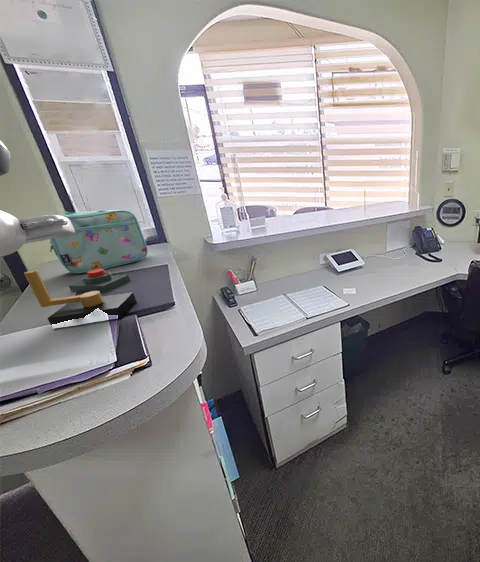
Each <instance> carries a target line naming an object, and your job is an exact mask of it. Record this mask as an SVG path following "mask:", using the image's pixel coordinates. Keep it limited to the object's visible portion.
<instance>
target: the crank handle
mask: <svg viewBox="0 0 480 562" xmlns="http://www.w3.org/2000/svg"><path fill="white" fill-rule="evenodd" d="M23 274H24V276H25V278H26V280H27V282H28V284H29V287H30V288H31V290H32V292H33V294H34V296H35V298H36V300H37V302H38V304H39V306H40V307H41V308H47V307H51V306H57V305H58V306H59V305H66V304H67V303H74V302H81V303H82V305H83V307H92V306H96V305H99V304H101V303H102V302H103V299H102V294H101V292H99V291H91V292H83V293H82V294H79V295H78V294H77V295H71V296H64V297H57V298H56V297H55V298H52V297H51V295H50V293H49V292H48V290H47V287H46V286H45V283H44V281H43V279H42V277H41V275H40V272H39V270H37V269H32V270H29V271H24V272H23Z"/></svg>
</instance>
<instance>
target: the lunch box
mask: <svg viewBox="0 0 480 562" xmlns="http://www.w3.org/2000/svg"><path fill="white" fill-rule="evenodd" d="M59 216H63V217H66V218H68V219H69V220H70V221H71V223H72V225H73V227H74V230H75V233H74V234H72V235H69V236H63V237H58V238H53V239H49V244H50V247H49V253H52V251H54V254H55V256H56V257H57V259H58V260H59V263H60V264H61V265H62V266H63V267H64V268H65V269H66V270H67V271H68V272H70V273H72V274H85V273H87V272H88V271H91V270H95V269H104V270H106V269H110V268H116V267H119V266H123V265H127V264H131V263H135V262H138V261H141V260H143V259H145V258H146V257H147V256H148V254H149V249H148V245H147V242H146V240H145V235H144V234H143V231H142V228H141V225H140V222H139V220H138V218H137V216H136V215H135V214H134V213H133V212H131V211H129V210H126V209H109V210H108V209H107V210H93V211H79V212H69V211H64V214H60V215H59Z"/></svg>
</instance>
